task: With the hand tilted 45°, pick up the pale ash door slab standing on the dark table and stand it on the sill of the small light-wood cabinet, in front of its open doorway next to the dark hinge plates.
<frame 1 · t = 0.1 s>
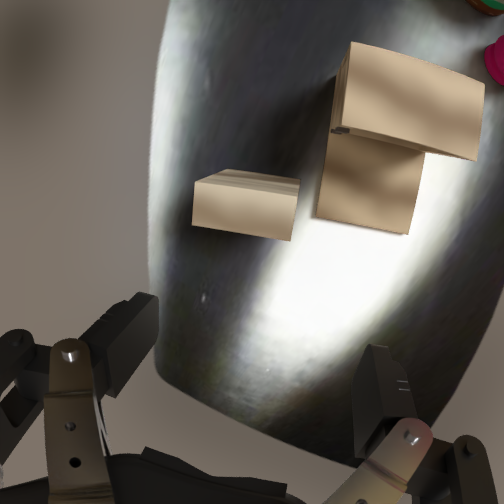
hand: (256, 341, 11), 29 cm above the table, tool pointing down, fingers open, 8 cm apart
cabinet: (381, 112, 33), on the table
pepper mill: (500, 65, 27), on the table
door: (261, 189, 39), on the table
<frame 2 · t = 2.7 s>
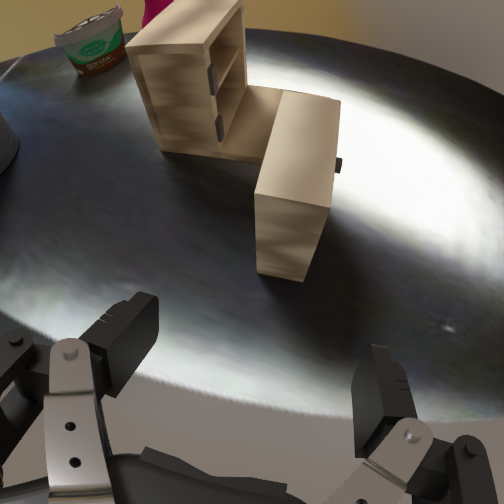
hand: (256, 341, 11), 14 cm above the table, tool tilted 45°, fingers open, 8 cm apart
cabinet: (206, 117, 35), on the table
pepper mill: (169, 48, 44), on the table
door: (289, 231, 29), on the table
food container: (106, 67, 43), on the table
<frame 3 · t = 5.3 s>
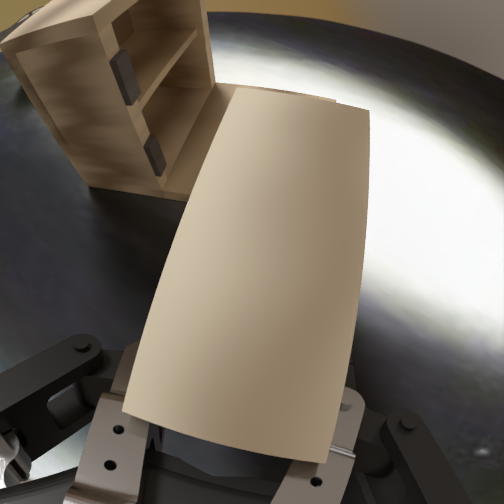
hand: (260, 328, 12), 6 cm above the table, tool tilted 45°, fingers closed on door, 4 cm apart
cabinet: (154, 132, 24), on the table
door: (265, 327, 18), on the table, touching gripper
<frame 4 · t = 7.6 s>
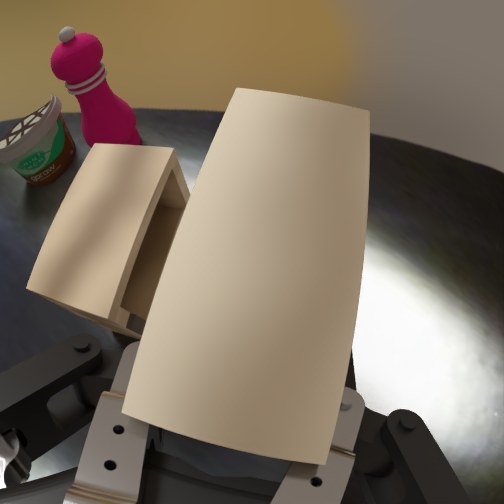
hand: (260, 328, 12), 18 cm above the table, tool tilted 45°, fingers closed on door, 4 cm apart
cabinet: (157, 284, 32), on the table
pepper mill: (120, 148, 40), on the table
door: (265, 328, 18), point 12 cm above the table, touching gripper
food container: (54, 172, 39), on the table
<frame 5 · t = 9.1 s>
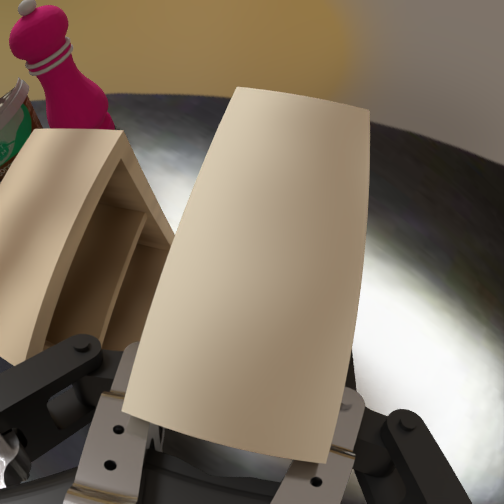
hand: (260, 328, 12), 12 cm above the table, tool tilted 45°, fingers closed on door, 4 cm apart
cabinet: (121, 301, 25), on the table
pepper mill: (92, 138, 33), on the table
door: (265, 327, 18), point 6 cm above the table, touching gripper
food container: (21, 166, 32), on the table
when the fingers open (8 cm above the table, at t = 10.2 s): door drops 1 cm, resting on cabinet.
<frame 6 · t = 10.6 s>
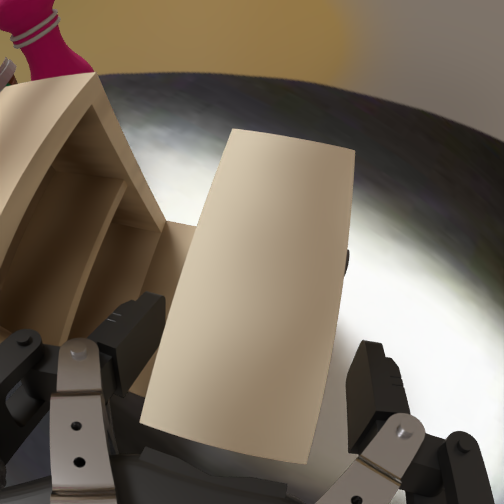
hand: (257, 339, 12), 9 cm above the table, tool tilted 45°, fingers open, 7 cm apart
cabinet: (101, 290, 21), on the table
pepper mill: (80, 118, 30), on the table
door: (261, 338, 19), point 1 cm above the table, touching cabinet
food container: (7, 150, 29), on the table
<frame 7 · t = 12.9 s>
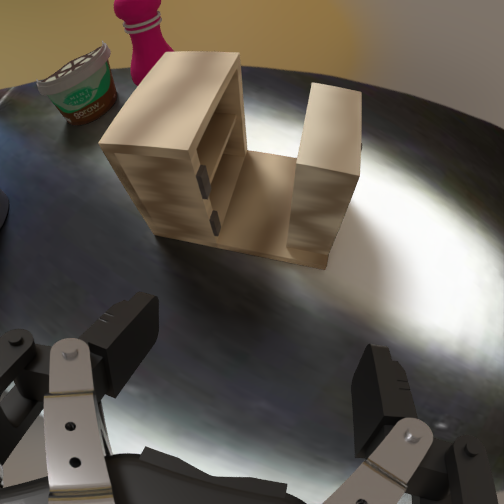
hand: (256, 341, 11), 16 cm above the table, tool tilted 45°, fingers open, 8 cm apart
cabinet: (202, 192, 34), on the table
pepper mill: (162, 93, 43), on the table
door: (314, 210, 31), point 1 cm above the table, touching cabinet
food container: (95, 113, 42), on the table
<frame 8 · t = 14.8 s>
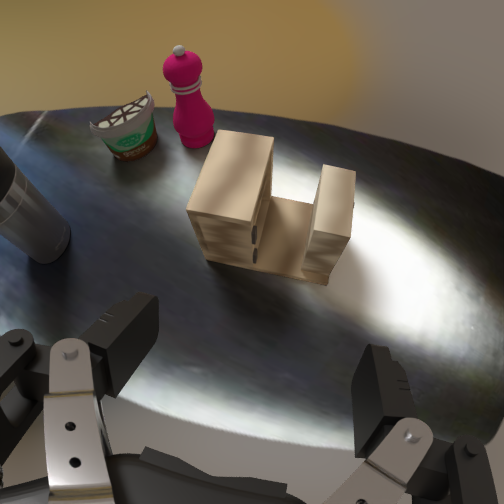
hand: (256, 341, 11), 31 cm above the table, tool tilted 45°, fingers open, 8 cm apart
cabinet: (239, 228, 48), on the table
pepper mill: (197, 137, 56), on the table
door: (319, 244, 46), point 1 cm above the table, touching cabinet
food container: (140, 151, 55), on the table
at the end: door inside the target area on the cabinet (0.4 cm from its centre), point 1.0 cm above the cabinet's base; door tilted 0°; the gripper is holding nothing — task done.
